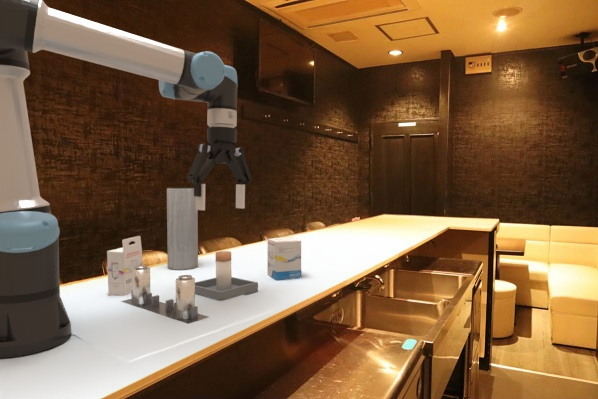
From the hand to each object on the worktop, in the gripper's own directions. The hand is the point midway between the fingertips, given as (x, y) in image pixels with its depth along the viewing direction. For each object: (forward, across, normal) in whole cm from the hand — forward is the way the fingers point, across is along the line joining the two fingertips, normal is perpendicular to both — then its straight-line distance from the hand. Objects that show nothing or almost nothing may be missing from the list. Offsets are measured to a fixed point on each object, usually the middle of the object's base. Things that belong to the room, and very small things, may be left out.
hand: (221, 209), depth 112 cm
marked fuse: (+21, +1, 0) cm, 21 cm away
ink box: (+22, +26, 0) cm, 34 cm away
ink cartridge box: (+23, -15, +20) cm, 34 cm away
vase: (+22, +15, +36) cm, 45 cm away
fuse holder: (+22, -18, -1) cm, 29 cm away
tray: (+22, +1, 0) cm, 22 cm away
